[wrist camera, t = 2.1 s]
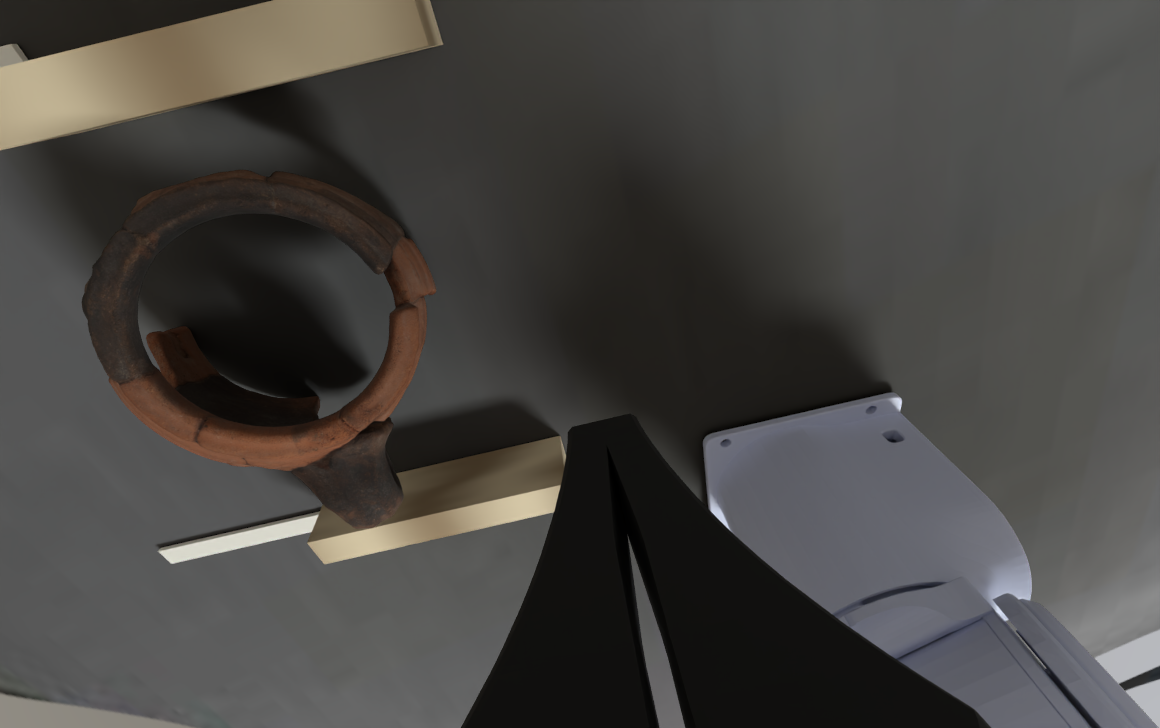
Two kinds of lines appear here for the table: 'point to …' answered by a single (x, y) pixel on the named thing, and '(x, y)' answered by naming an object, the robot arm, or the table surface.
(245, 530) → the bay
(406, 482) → the cradle
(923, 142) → the table surface
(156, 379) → the pottery mug
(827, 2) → the table surface
